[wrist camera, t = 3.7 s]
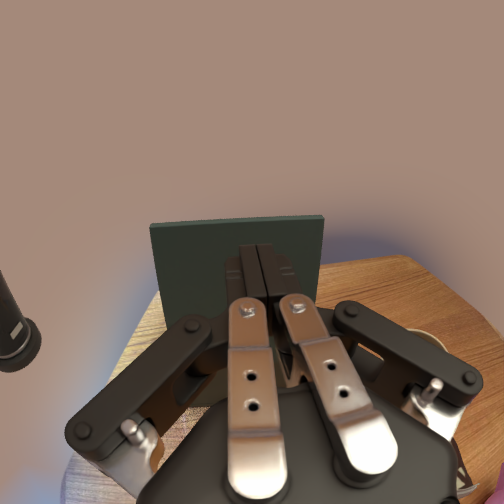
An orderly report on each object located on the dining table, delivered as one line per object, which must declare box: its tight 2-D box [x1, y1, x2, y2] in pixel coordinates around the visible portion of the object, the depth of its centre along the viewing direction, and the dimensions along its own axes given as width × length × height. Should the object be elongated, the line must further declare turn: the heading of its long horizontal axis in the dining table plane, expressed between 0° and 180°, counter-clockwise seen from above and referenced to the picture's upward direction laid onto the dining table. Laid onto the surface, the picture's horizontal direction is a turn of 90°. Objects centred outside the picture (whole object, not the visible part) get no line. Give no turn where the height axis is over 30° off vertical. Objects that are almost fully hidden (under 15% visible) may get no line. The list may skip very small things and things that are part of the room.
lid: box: [149, 215, 324, 362], centre depth 28 cm, size 16×14×1 cm
